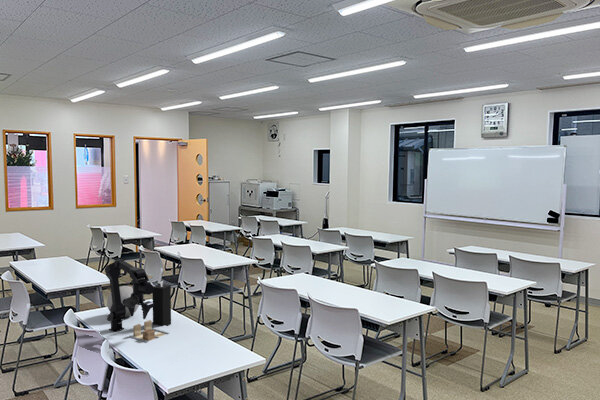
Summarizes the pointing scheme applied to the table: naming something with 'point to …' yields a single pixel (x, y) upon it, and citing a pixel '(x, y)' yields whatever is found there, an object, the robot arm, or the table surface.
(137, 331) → the tan piece
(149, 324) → the strip broken
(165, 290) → the black rectangular block
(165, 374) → the table surface
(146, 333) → the cube
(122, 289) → the moon model
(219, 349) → the table surface
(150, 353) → the table surface
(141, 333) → the lane board
